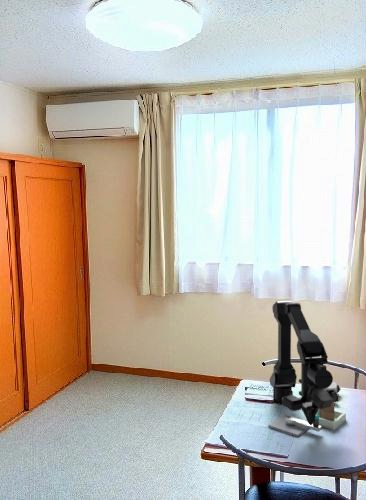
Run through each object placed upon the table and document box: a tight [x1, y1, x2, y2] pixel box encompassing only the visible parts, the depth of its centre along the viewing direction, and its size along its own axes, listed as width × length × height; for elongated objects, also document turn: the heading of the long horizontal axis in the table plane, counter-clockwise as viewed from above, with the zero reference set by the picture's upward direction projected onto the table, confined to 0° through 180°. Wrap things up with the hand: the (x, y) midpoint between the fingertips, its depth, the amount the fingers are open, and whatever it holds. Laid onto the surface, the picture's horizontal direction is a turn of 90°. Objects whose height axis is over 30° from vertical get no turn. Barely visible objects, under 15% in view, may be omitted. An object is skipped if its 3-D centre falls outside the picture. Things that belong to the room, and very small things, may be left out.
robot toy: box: [328, 381, 342, 403], centre depth 181 cm, size 12×4×15 cm
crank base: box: [267, 413, 308, 438], centre depth 158 cm, size 11×11×1 cm
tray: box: [316, 409, 347, 431], centre depth 161 cm, size 10×10×2 cm
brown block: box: [319, 402, 336, 421], centre depth 161 cm, size 4×4×7 cm
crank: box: [285, 414, 322, 433], centre depth 155 cm, size 12×4×5 cm, turn 49°
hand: (310, 424), depth 150 cm, fingers closed
